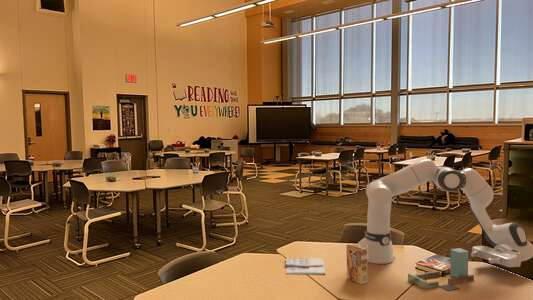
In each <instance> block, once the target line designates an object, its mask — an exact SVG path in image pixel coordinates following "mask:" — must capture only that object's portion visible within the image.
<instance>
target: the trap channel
mask: <svg viewBox="0 0 533 300" xmlns="http://www.w3.org/2000/svg"><path fill="white" fill-rule="evenodd" d="M448 269H449V272H450V268H448ZM440 276H441V274H440V271H433V272H430V271H427V272H422V273H416V274H413V273H411V272H409V273H407V281H408V282H411V283H412V284H414V285H416V286H418V287H420V288H422V289H424V290H427V289H433V288H437V287H439V288H440V289H443V290H445V291H447V292H450V291H456V290H460V288H459V287H458V286H456V285H455V284H459V283H465V282H469V281H474V280H475V276H474V274H468V275H466V276H461V277H455V278H454V277H450V278H447V284H442V285H440V282H439V281H438V280H434V281H427V280H425V279H428V278H436V277H440Z"/></svg>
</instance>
